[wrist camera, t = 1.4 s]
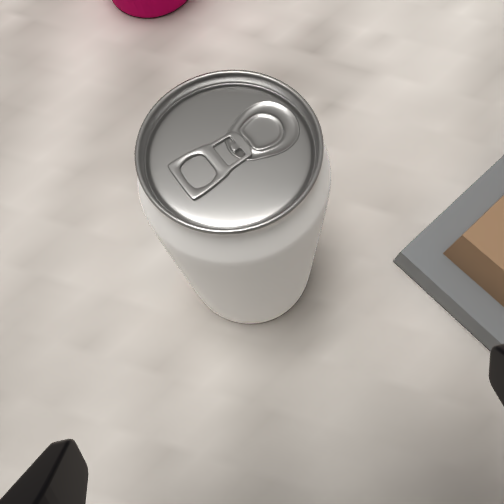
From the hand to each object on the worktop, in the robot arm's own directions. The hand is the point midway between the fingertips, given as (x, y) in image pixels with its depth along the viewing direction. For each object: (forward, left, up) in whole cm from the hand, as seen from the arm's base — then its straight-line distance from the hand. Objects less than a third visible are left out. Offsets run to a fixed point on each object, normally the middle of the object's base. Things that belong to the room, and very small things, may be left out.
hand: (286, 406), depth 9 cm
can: (+6, -4, -13) cm, 15 cm away
